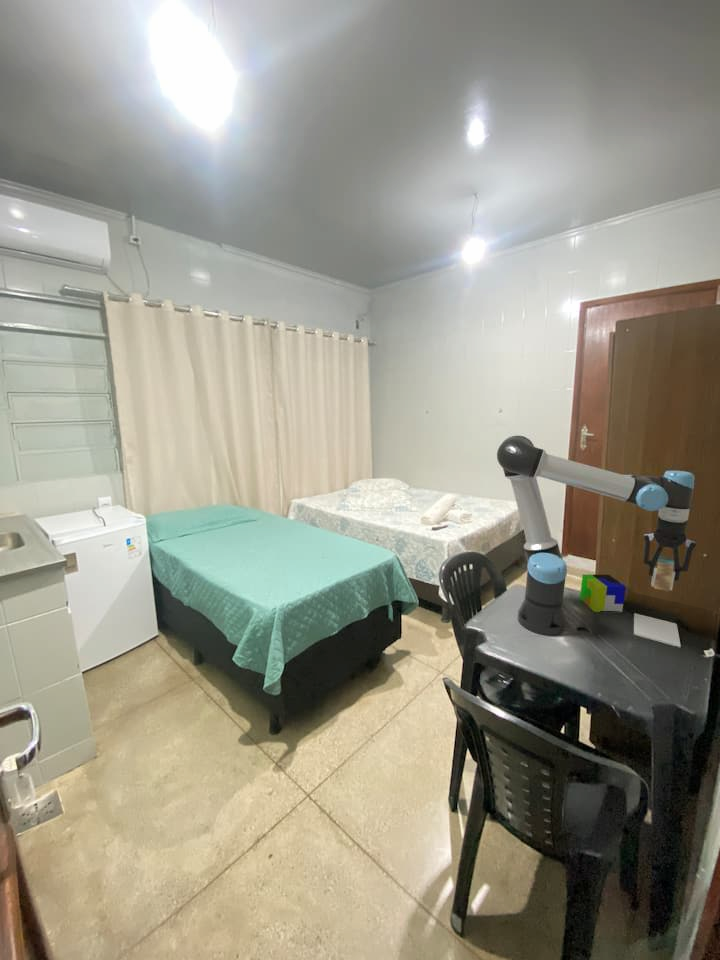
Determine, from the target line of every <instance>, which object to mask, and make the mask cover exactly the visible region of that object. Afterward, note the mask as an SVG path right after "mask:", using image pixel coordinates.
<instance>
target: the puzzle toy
mask: <svg viewBox="0 0 720 960" xmlns="http://www.w3.org/2000/svg"><path fill="white" fill-rule="evenodd" d="M626 589H627V586H625V585H624V584H623V583H621V582H619V580H617V579H616V578H614V577H613V576H612V575H610V574H585V573H584V574H582V577H581V587H580V594H579V599H580V600H581V601H582V602H583V603H584V604H585V605H587V606H588V607H589V609H591V611H592V612H594V613H601V612H600V611H620V612H619V613H622V612H623V607H624V601H625V595H626Z"/></svg>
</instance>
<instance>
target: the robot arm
mask: <svg viewBox="0 0 720 960" xmlns="http://www.w3.org/2000/svg"><path fill="white" fill-rule="evenodd" d="M496 459H497V462H498V464H499V465H500V466H501V468H502V470H503V474H504V477H505V478H507V479H508V480H510V483H511V487H512V491H513V494H514V495H513V496H514V498H515V502H516V506H517V510H518V513H519V518H520V522H521V524H522V528H523V531H524V532H523V533H524V537H525V540H526V542H525V543H524V544H523V551H524V553H525V557H526V561H527V573H526V575H527V576H526V580H525V581H526V582H525V594H524V599H523V601H522V603H521V605H520V607H519V609H518V611H517V621H518V622H519V624H520V625H521V626H522V627H524V628H525V629H526V630H529V631H530V632H534V633H537V634H540V635H544V636H545V635H546V636H557V635H561V634H563V633H564V632H565V631H566V628H567V627H566V626H567V620H566V615H565V613H564V609H563V600H564V593H565V585H566V577H567V574H568V570H567V568H568V567H567V563H566V562H565V559H564V558H563V555H562V553H561V550H560V546H559V542H558V540H557V539H555V538H553V537H552V534H551V529H550V527H549V522H548V518H547V515H546V511H545V510H546V509H545V506H544V502H543V499H542V494H541V491H540V487H539V482H538V479H537V478H538V477H540V478H544V479H548V480H550V481H553V482H558V483H561V484H564V485H567V486H572V487H574V488H578V489H582V490H585V491H589V492H591V493H595V494H599V495H602V496H606V497H609V498H613V499H615V500H619V501H622V502H626V503H629V504H631V505H635V506H638V507H639V508H640V509H642V510H645V511H648V512H656V511H658V513H657V514H658V515H657V516H658V518H657V519H656V526H655V527H656V528H655V530H654V532H652V533H644V534H643V538H644V540H645V545H644V556H643V563H644V564H645V565H647V566H648V567H649V569H648V576H651V584H650V585H651V587H653V588H654V584H655V578H656V571H657V561H658V558H659V556H660V555H661V553H662V550H663V549H664V548H670V549H672V553H673V559H674V568H673V572H672V578H671V584H670V590H669V591H673V588H674V587H673V586H674V581H676V582H678V581H679V579H680V573H681V572H684V573H685V572H688V570H689V566H690V561H691V557H692V553H693V550H694V548H696V546H697V543H696V541H695V540H690V539H688V538H687V536H686V534H687V533H686V532H687V527H688V522H687V521H688V520H689V516H690V515H689V514H690V507H691V503H692V497H693V492H694V489H695V487H694V486H695V475H694V473H692V472H690V471H689V472H688V471H684V470H666V471H665V472H664V474H663V476H652V475H650V476H649V475H637V474H620V473H617V472H613V471H610V470H607V469H603V468H599V467H595V466H591V465H588V464H585V463H580V462H577V461H573V460H570V459H566V458H563V457H559V456H555V455H552V454H548V453H547V452H546V450H545V449H542V448H538V447H536V446H535V445H534V443H533V442H532V441H531V440H530V438H528V437H526V436H523V435H512V436H509V437H507V438H505V439H504V440H503V441H502V443H501V444H500V446H499V447H498V449H497V452H496ZM653 538H654V539H655V540H656V542H657V543H658V544H657V546H656V549H655V551H654V553H653V556H652V557H651V560H649V558H650V550H651V542H652V541H653ZM684 543H685V546H686V548H685V553H684V558H683V562H682V565H680V559H679V558H680V555H679V547H680V546H682V545H683V544H684Z"/></svg>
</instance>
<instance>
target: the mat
mask: <svg viewBox="0 0 720 960" xmlns="http://www.w3.org/2000/svg"><path fill="white" fill-rule="evenodd" d="M633 635H634V636H638V637H640V638H644V639H648V640H652V641H655V642H659V643H663V644H666V645H669V646H673V647H676V646H677V647H676V648H681V647H682V646H681V641H680V635H679V629H678V624H677V623H674V622H672V621H667V620H662V619H659V618H654V617H651V616H646V615H644V614H639V613H635V612H634V613H633Z"/></svg>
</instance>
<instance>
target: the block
mask: <svg viewBox="0 0 720 960" xmlns="http://www.w3.org/2000/svg"><path fill="white" fill-rule="evenodd" d="M656 566H657V571H656V578H655V584H654V587H653V589H656V590H660V591H662V592H663V591H664V592H669V593H670V591H671V590H670V584H671V578H672V572H673V569H674V567H675V564H674V558H672V557H671V558H670V557H665V556H660V555H659V558H658V560H657V562H656Z"/></svg>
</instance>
